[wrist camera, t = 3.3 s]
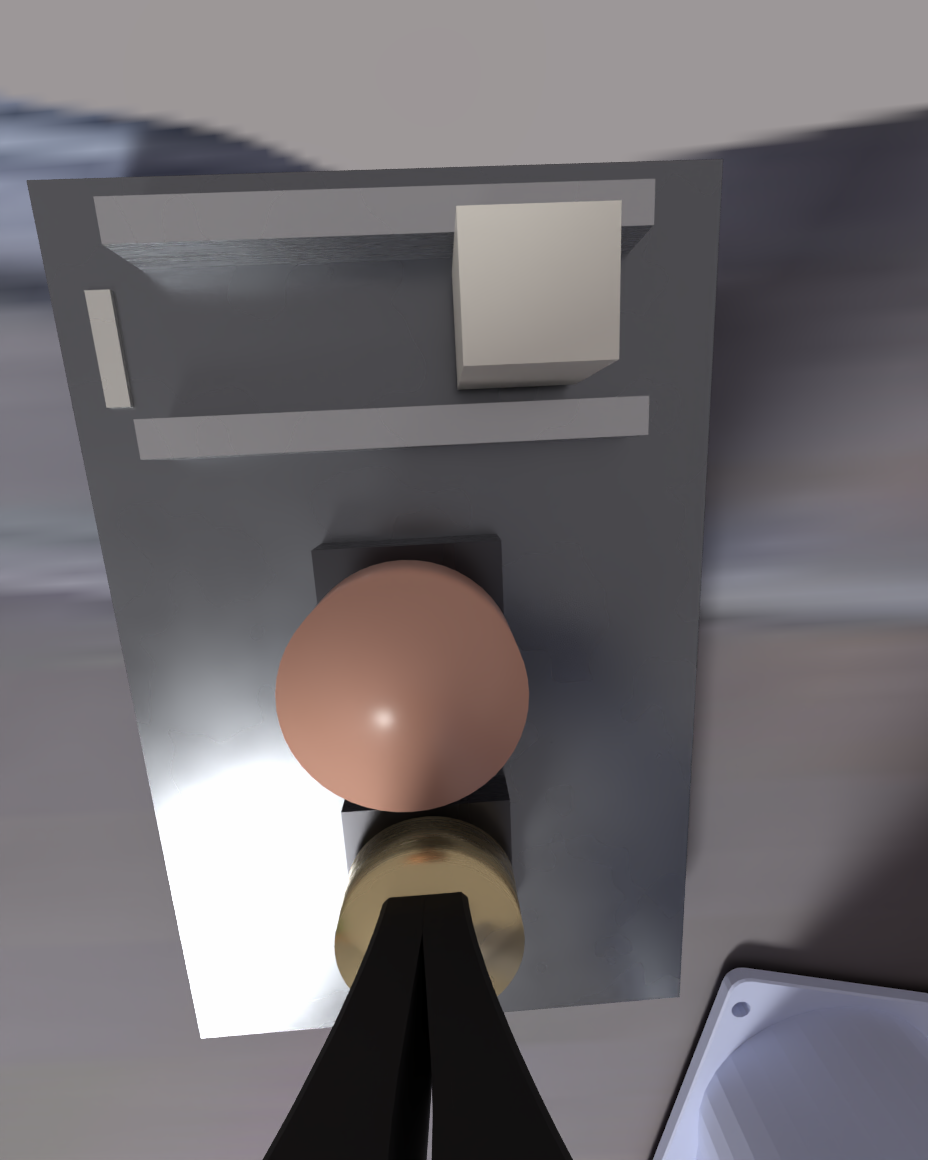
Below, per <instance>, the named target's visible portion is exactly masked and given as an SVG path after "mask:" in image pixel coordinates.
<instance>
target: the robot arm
mask: <svg viewBox="0 0 928 1160" xmlns="http://www.w3.org/2000/svg"><path fill="white" fill-rule="evenodd" d="M431 1089H432V1103H433V1128H432V1160H573V1159H572V1157H571V1155H570V1153H569V1151H568V1150H567V1148H566V1146H565V1144H564V1142H563V1140H562V1138H561V1136H560V1134H559V1132H558V1130H557V1128H556V1126H555V1124H554V1122H553V1120H552V1118H551V1116H550V1114H549V1112H548V1110H547V1108H546V1106H545V1104H544V1102H543V1100H542V1098H541V1096H540V1094H539V1092H538V1090H537V1088H536V1085H535V1083H534V1081H533V1079H532V1077H531V1075H530V1072H529V1070H528V1068H527V1066H526V1064H525V1061H524V1059H523V1057H522V1055H521V1053H520V1051H519V1048H518V1046H517V1044H516V1041H515V1039H514V1037H513V1034H512V1032H511V1030H510V1027H509V1025H508V1022H507V1020H506V1017H505V1015H504V1012H503V1010H502V1007H501V1005H500V1002H499V1000H498V997H497V995H496V992H495V990H494V987H493V985H492V982H491V979H490V976H489V974H488V971H487V968H486V965H485V962H484V959H483V956H482V953H481V950H480V947H479V943H478V940H477V937H476V933H475V929H474V925H473V922H472V917H471V912H470V907H469V901H468V897H467V896H466V895H465V894H463V893H462V892H453V893H441V894H429V895H416V896H403V897H390V898H388V899H387V900H386V901H385V902H384V903H383V904H382V908H381V911H380V914H379V917H378V920H377V923H376V926H375V929H374V932H373V934H372V937H371V940H370V942H369V945H368V948H367V950H366V953H365V955H364V957H363V960H362V962H361V965H360V967H359V970H358V972H357V974H356V977H355V979H354V981H353V984H352V986H351V988H350V990H349V992H348V995H347V997H346V999H345V1001H344V1003H343V1006H342V1008H341V1010H340V1012H339V1014H338V1016H337V1019H336V1021H335V1023H334V1025H333V1027H332V1030H331V1032H330V1034H329V1036H328V1038H327V1040H326V1042H325V1044H324V1046H323V1048H322V1050H321V1052H320V1054H319V1056H318V1058H317V1059H316V1061H315V1063H314V1065H313V1067H312V1069H311V1071H310V1073H309V1075H308V1077H307V1079H306V1081H305V1083H304V1085H303V1087H302V1089H301V1091H300V1093H299V1095H298V1096H297V1098H296V1100H295V1102H294V1104H293V1106H292V1108H291V1110H290V1112H289V1113H288V1115H287V1117H286V1119H285V1121H284V1122H283V1124H282V1126H281V1128H280V1130H279V1132H278V1133H277V1135H276V1137H275V1139H274V1141H273V1142H272V1144H271V1146H270V1148H269V1149H268V1151H267V1153H266V1155H265V1156H264V1158H263V1160H426V1159H427V1146H428V1132H429V1118H430V1103H431ZM653 1160H928V993H923V992H916V991H908V990H901V989H894V988H887V987H880V986H873V985H866V984H858V983H851V982H844V981H837V980H830V979H823V978H815V977H808V976H801V975H794V974H787V973H780V972H772V971H765V970H758V969H751V968H735V969H733V970H731V971H730V972H728V973H727V974H726V975H725V977H724V979H723V981H722V983H721V986H720V989H719V991H718V994H717V996H716V999H715V1001H714V1004H713V1007H712V1009H711V1012H710V1014H709V1017H708V1019H707V1022H706V1025H705V1027H704V1030H703V1032H702V1035H701V1037H700V1040H699V1042H698V1045H697V1048H696V1050H695V1053H694V1055H693V1058H692V1060H691V1063H690V1066H689V1068H688V1071H687V1073H686V1076H685V1078H684V1081H683V1084H682V1086H681V1089H680V1091H679V1094H678V1096H677V1099H676V1102H675V1104H674V1107H673V1109H672V1112H671V1114H670V1117H669V1120H668V1122H667V1125H666V1127H665V1130H664V1132H663V1135H662V1138H661V1140H660V1143H659V1145H658V1148H657V1150H656V1153H655V1155H654V1158H653Z"/></svg>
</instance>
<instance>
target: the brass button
mask: <svg viewBox="0 0 928 1160" xmlns="http://www.w3.org/2000/svg"><path fill="white" fill-rule="evenodd" d="M453 892H462V893H463V894H465V895H466V896H467V897H468V901H469V907H470V912H471V917H472V922H473V925H474V929H475V933H476V937H477V940H478V943H479V947H480V950H481V953H482V956H483V959H484V962H485V965H486V968H487V971H488V974H489V976H490V979H491V982H492V985H493V987H494V990H495V992H496V995H497V996H498V995H500V994H501V993H502V992H503V991H504V989H505V988H506V987H507V986H508V985H509V984H510V982H511V981H512V979H513V978H514V976H515V974H516V973H517V971H518V969H519V966H520V964H521V961H522V958H523V953H524V945H525V936H524V927H523V922H522V916H521V911H520V905H519V900H518V894H517V889H516V883H515V878H514V873H513V869H512V866H511V863H510V861H509V859H508V856H507V855H506V853H505V852H504V850H503V849H502V847H501V846H500V845H499V844H498V843H497V842H496V840H494V839H493V838H492V837H491V836H490V835H489V834H487V833H486V832H484V831H483V830H481V829H480V828H478V827H476V826H474V825H472V824H470V823H467V822H464V821H461V820H458V819H453V818H449V817H439V816H426V817H418V818H412V819H409V820H405V821H402V822H399V823H396V824H394V825H392V826H390V827H388V828H386V829H384V830H382V831H381V832H379V833H378V834H377V835H375V836H374V837H373V838H372V839H370V840H369V841H368V842H367V843H366V844H365V845H364V847H363V848H362V849H361V850H360V851H359V853H358V854H357V856H356V858H355V859H354V861H353V864H352V866H351V868H350V871H349V875H348V879H347V883H346V888H345V892H344V897H343V901H342V906H341V910H340V915H339V920H338V924H337V929H336V933H335V941H334V951H335V958H336V963H337V966H338V969H339V972H340V974H341V976H342V978H343V980H344V981H345V983H346V984H347V986H348V987H349V988H351V986H352V984H353V981H354V979H355V977H356V974H357V972H358V970H359V967H360V965H361V962H362V960H363V957H364V955H365V953H366V950H367V948H368V945H369V942H370V940H371V937H372V934H373V932H374V929H375V926H376V923H377V920H378V917H379V914H380V911H381V908H382V904H383V903H384V902H385V901H386V900H387V899H388V898H390V897H403V896H416V895H429V894H441V893H453Z"/></svg>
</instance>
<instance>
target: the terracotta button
mask: <svg viewBox="0 0 928 1160" xmlns="http://www.w3.org/2000/svg"><path fill="white" fill-rule="evenodd" d="M275 699H276V711H277V716H278V720H279V725H280V728H281V730H282V733H283V736H284V739H285V741H286V743H287V745H288V746H289V748H290V750H291V752H292V754H293V755H294V756H295V758H296V759H297V761H298V762H299V763H300V765H301V766H302V767H303V768H304V769H305V770H306V771H307V773H308V774H309V775H310V776H311V777H312V778H314V779H315V780H316V781H317V782H318V783H320V784H321V785H322V786H323V787H325V788H326V789H328V790H329V791H331V792H332V793H334V794H336V795H337V796H339V797H341V798H343V799H346V800H348V801H350V802H352V803H355V804H358V805H361V806H364V807H367V808H372V809H376V810H381V811H391V812H415V811H423V810H429V809H433V808H437V807H441V806H445V805H447V804H450V803H453V802H455V801H458V800H460V799H462V798H464V797H466V796H467V795H469V794H471V793H473V792H474V791H476V790H477V789H479V788H480V787H482V786H483V785H484V784H486V783H487V782H488V781H489V780H490V779H491V778H492V777H493V776H495V775H496V774H497V773H498V771H499V770H500V769H501V768H502V767H503V766H504V765H505V763H506V762H507V760H508V759H509V758H510V756H511V755H512V753H513V752H514V750H515V748H516V746H517V744H518V742H519V740H520V738H521V735H522V732H523V729H524V726H525V723H526V718H527V713H528V705H529V687H528V677H527V673H526V669H525V665H524V661H523V659H522V656H521V654H520V651H519V649H518V646H517V644H516V642H515V639H514V637H513V635H512V632H511V630H510V628H509V625H508V623H507V621H506V619H505V617H504V615H503V613H502V612H501V610H500V608H499V607H498V605H497V604H496V603H495V601H494V600H493V599H492V598H491V596H490V595H489V594H488V593H487V592H486V591H485V590H484V589H483V588H482V587H480V586H479V585H478V584H476V583H475V582H474V581H473V580H471V579H470V578H468V577H466V576H465V575H463V574H461V573H459V572H458V571H455V570H453V569H450V568H448V567H446V566H443V565H439V564H435V563H432V562H425V561H418V560H397V561H389V562H384V563H380V564H376V565H372V566H369V567H367V568H364V569H362V570H359V571H357V572H356V573H354V574H352V575H350V576H348V577H347V578H345V579H344V580H343V581H341V582H340V583H339V584H337V585H336V586H335V587H334V588H333V589H332V590H331V591H330V592H328V593H327V594H326V595H325V596H324V598H323V599H322V600H321V601H320V602H319V603H318V605H317V606H316V607H315V608H314V609H313V610H312V612H311V613H310V614H309V615H308V616H307V617H306V619H305V620H304V621H303V622H302V624H301V625H300V626H299V628H298V629H297V630H296V631H295V633H294V634H293V636H292V638H291V639H290V641H289V643H288V645H287V647H286V648H285V651H284V654H283V656H282V659H281V661H280V665H279V669H278V674H277V678H276V690H275Z"/></svg>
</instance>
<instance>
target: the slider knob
mask: <svg viewBox="0 0 928 1160" xmlns="http://www.w3.org/2000/svg"><path fill="white" fill-rule="evenodd" d="M621 207H622V200H615V201H585V202H555V203H524V204H494V205H464V206H456V216H455V231H454V246H453V261H452V285H453V306H454V326H455V347H456V368H457V388H458V390H462V389H484V388H506V387H529V386H551V385H573V384H577V383H579V382H581V381H582V380H584V379H586V378H588V377H589V376H591V375H593V374H595V373H596V372H598V371H600V370H602V369H603V368H605V367H607V366H608V365H610V364H612V363H614V362H615V361H617V360H619V337H620V272H621Z"/></svg>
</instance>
